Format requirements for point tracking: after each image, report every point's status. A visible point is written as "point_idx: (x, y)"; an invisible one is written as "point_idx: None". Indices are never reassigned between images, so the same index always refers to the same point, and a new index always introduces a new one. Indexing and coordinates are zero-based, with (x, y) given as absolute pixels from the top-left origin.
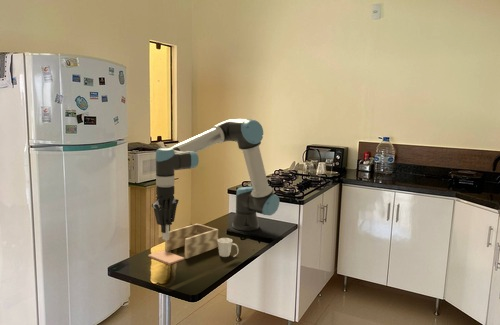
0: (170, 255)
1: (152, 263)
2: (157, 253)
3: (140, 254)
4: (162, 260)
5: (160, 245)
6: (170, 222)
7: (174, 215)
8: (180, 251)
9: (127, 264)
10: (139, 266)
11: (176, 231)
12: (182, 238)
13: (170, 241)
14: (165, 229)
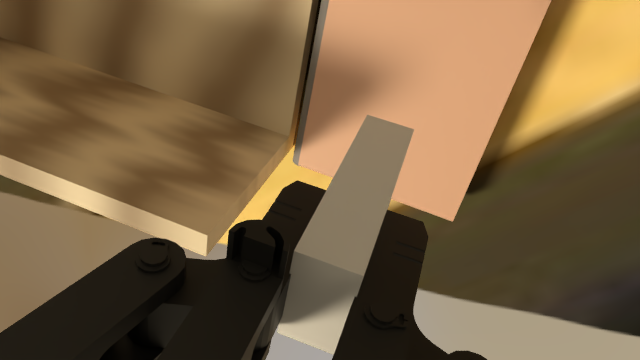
0: (370, 50)
1: (528, 130)
2: None
3: None
4: (530, 45)
5: None
6: (233, 270)
7: (32, 330)
8: None
9: (620, 283)
10: (635, 191)
11: (96, 181)
12: (88, 113)
13: (215, 163)
14: (376, 243)
